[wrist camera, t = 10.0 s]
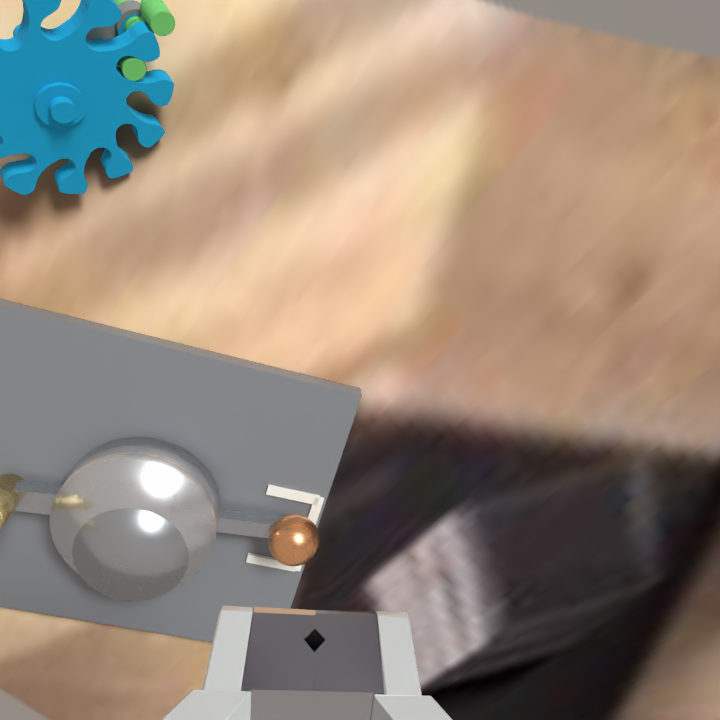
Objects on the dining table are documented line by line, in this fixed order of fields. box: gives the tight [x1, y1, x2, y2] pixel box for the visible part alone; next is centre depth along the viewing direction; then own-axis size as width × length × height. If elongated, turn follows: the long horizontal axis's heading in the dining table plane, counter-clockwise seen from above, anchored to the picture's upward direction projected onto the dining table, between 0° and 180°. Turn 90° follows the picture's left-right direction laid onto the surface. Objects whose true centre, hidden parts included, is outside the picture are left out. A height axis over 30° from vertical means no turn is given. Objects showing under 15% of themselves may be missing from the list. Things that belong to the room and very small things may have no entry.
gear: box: [0, 0, 175, 195], centre depth 28 cm, size 11×6×10 cm
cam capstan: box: [0, 437, 319, 601], centre depth 36 cm, size 10×19×5 cm, turn 78°
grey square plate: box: [0, 299, 362, 642], centre depth 39 cm, size 21×20×1 cm
